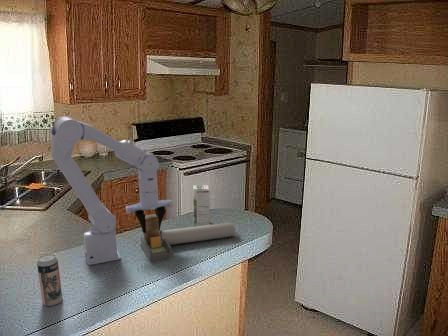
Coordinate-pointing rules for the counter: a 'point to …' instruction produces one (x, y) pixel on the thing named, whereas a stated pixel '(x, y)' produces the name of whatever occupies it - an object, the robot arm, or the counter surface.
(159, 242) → the switch knob
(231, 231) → the tube
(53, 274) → the beer can
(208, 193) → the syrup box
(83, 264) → the counter surface
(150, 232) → the walnut peg
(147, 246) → the grey open tray
